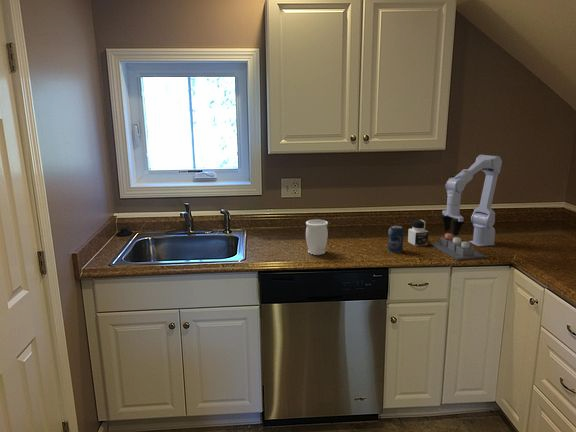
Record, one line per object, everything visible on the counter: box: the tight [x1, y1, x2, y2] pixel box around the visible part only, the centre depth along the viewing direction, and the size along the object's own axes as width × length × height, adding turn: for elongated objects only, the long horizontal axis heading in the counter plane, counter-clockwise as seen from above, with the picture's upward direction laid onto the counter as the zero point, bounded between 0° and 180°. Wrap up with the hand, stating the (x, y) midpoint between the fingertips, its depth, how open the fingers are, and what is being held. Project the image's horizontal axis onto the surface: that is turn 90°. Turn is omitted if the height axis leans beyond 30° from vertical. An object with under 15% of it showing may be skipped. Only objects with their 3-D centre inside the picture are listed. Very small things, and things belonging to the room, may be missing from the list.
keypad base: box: [429, 236, 486, 261], centre depth 213 cm, size 14×24×4 cm, turn 12°
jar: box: [305, 219, 329, 256], centre depth 212 cm, size 11×10×15 cm
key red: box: [444, 232, 454, 240], centre depth 219 cm, size 4×4×3 cm
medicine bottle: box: [407, 219, 429, 247], centre depth 224 cm, size 7×7×12 cm
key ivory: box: [453, 237, 462, 245], centre depth 213 cm, size 4×4×3 cm
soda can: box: [387, 224, 404, 254], centre depth 213 cm, size 7×7×12 cm
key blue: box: [461, 241, 471, 249], centre depth 206 cm, size 4×4×3 cm
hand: (451, 232), depth 209 cm, fingers open, 7 cm apart
